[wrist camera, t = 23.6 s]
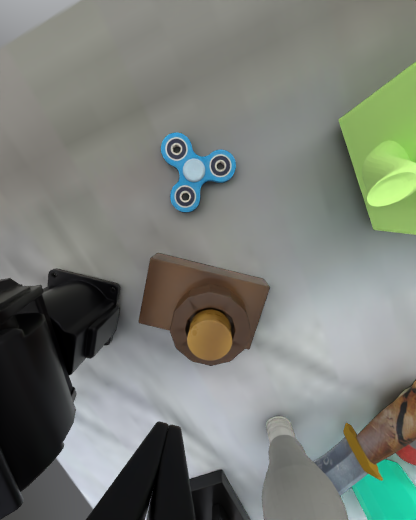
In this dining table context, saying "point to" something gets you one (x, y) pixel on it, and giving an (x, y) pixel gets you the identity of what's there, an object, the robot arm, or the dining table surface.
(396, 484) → the candle
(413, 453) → the toy boat
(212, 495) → the bracket
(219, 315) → the button
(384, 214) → the teapot
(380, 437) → the knife
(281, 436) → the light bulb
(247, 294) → the button box
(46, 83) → the dining table surface
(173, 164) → the toy
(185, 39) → the dining table surface
